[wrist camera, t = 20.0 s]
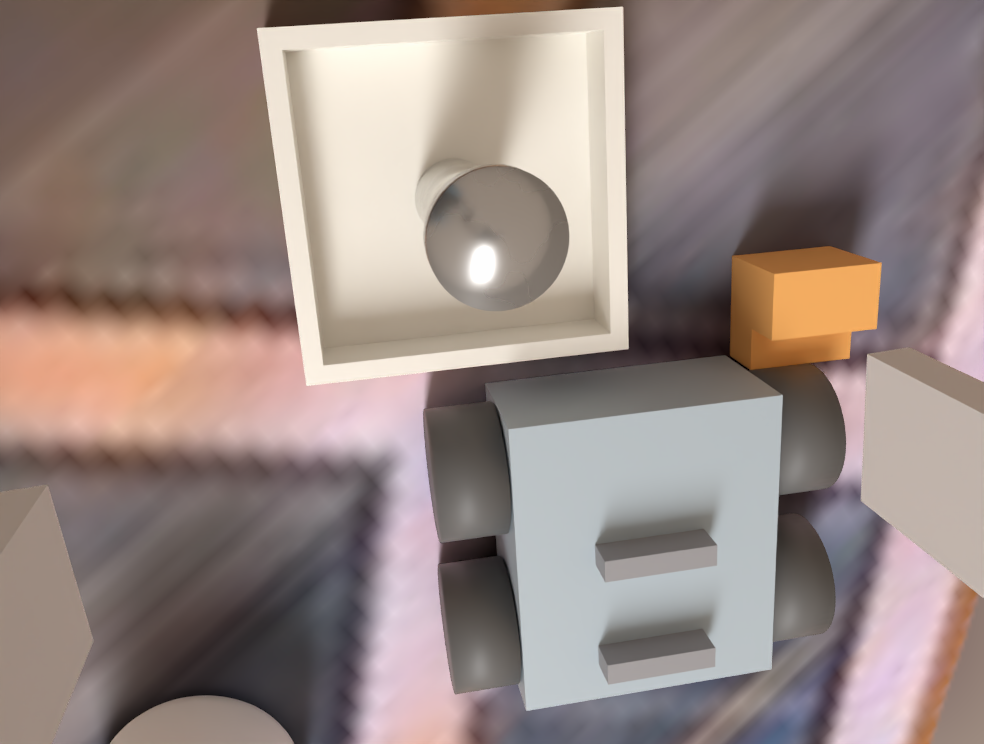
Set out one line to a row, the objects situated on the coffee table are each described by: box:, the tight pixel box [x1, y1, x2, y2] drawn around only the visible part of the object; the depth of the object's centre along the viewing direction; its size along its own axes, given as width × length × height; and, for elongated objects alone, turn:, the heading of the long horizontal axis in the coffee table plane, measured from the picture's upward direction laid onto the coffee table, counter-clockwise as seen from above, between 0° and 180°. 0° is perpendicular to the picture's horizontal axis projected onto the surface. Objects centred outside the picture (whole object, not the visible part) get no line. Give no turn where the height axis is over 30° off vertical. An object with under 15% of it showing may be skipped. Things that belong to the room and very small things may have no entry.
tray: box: [257, 7, 629, 386], centre depth 38 cm, size 14×14×3 cm
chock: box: [730, 246, 882, 370], centre depth 42 cm, size 5×5×4 cm
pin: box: [415, 158, 569, 311], centre depth 33 cm, size 5×5×11 cm
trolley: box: [423, 355, 846, 711], centre depth 42 cm, size 14×19×8 cm
